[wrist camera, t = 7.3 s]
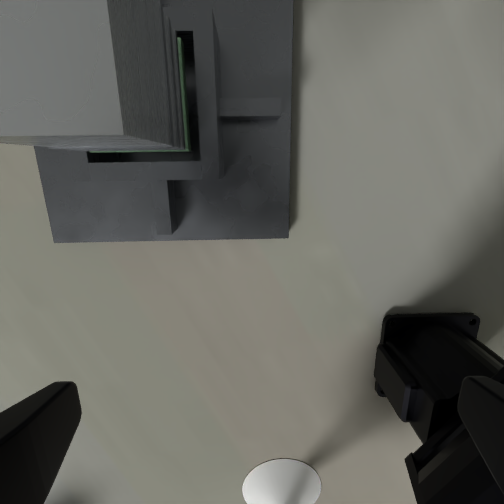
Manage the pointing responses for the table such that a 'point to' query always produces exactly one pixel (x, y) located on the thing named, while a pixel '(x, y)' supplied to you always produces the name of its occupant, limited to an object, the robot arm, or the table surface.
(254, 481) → the champagne flute
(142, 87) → the block
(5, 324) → the table surface
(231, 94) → the jack base
